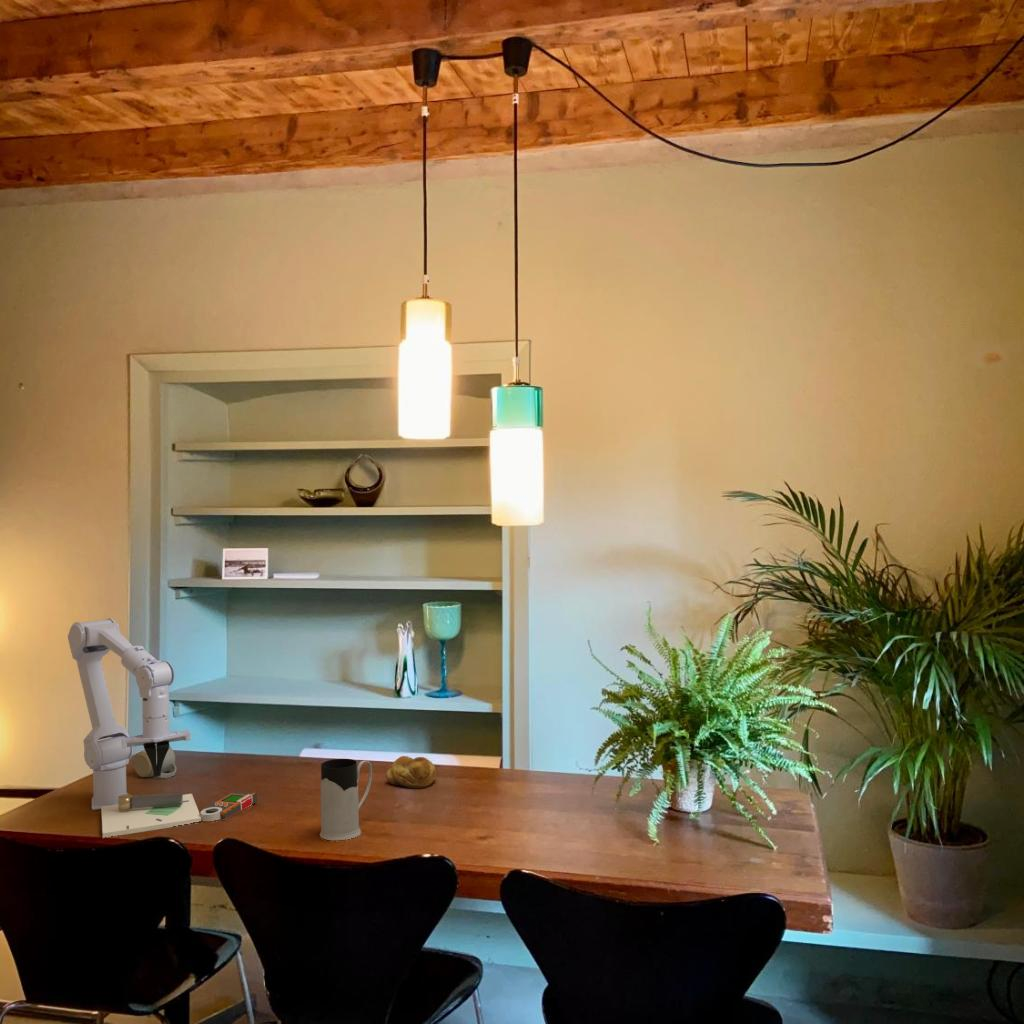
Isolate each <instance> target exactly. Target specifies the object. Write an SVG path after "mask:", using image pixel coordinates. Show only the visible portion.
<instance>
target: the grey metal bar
mask: <svg viewBox="0 0 1024 1024" xmlns="http://www.w3.org/2000/svg"><path fill="white" fill-rule="evenodd" d="M183 795H184V794H183V792H171V793H170V792H169V793H151V794H137V795H134V794H130V793H128V794H125V795H121V796H119V797H118V810H120V811H125V810H130V809H132V808H147V807H164V806H180V805H182V804H183Z"/></svg>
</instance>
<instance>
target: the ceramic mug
mask: <svg viewBox="0 0 1024 1024" xmlns="http://www.w3.org/2000/svg"><path fill="white" fill-rule="evenodd" d="M155 745H156V764H157V744H155ZM133 769H134V771H135V772H136V774H137V776H139V777H141V778H143V777H146V778H147V777H148V778H152V777H154V775H153V768H152V764H151V762H150V759H149V757H148V755H147V753H146V751H145V749H143V750H141V751H139V752H138V753H137V754H136V755H135V757H134V758H133ZM167 771H168V772H167ZM170 771H172V772H170ZM176 773H177V766H176V755H175V752H174V750H173V748H172V746H170V747H169V750H168V752H167V754H166V756H165V758H164V761H163V765H162V769H161V776H156V777H157V778H159V779H164V778H165V779H168V778H167V777H171V776H173V777H175V776H176ZM171 778H172V777H171Z"/></svg>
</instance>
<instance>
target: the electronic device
mask: <svg viewBox="0 0 1024 1024" xmlns="http://www.w3.org/2000/svg"><path fill="white" fill-rule="evenodd" d="M256 802H257V803H258V795H257V793H256V792H245V791H235V790H233V791H230V792H229V793H227V794H226V795H224V796H222V797H220V798H218V799H217V800H215V801H213V802H212V803H210V804H208V805H206V806H205V807H202V808H200V810H199V813H200V816H201V820H202V821H214V820H219V819H225V818H227V817H229V816H231V815H233V814H234V813H236V812H238V811H240V810H243V809H245V808H247V807H249V806H251V805H252V804H254V803H255V804H257V803H256ZM255 804H254V805H255ZM252 806H253V805H252ZM219 821H220V820H219Z"/></svg>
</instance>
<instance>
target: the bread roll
mask: <svg viewBox="0 0 1024 1024" xmlns="http://www.w3.org/2000/svg"><path fill="white" fill-rule="evenodd" d="M436 773H437V771H436V767H435V765H434V763H433V762H432V761H431V760H430V759H428V758H426V757H424V756H419V757H417V756H415V758H412V757H411V756H406V755H401V756H399V757H398V758H397V759H395V760H394V761H393V763H392V765H391V768H389V769H388V770H387V771H386V773H385V778H386V780H387V781H388V783H390V784H392V785H396V786H402V787H406V788H408V789H421V788H425V787H426V788H427V787H429V786H430V785H432V783H433V782H434V781H435V780H436V776H437V774H436Z"/></svg>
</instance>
